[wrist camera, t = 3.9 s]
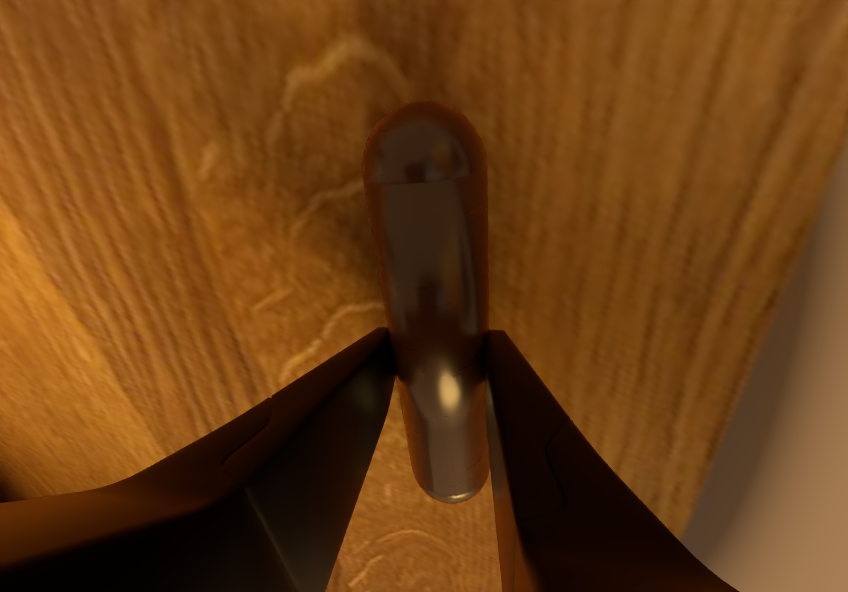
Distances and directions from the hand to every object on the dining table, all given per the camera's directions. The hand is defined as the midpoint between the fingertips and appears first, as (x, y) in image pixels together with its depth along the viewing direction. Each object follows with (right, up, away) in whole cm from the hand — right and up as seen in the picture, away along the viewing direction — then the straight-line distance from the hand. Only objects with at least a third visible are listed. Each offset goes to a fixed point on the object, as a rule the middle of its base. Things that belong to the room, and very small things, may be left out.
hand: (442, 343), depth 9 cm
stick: (0, +1, +1) cm, 1 cm away
